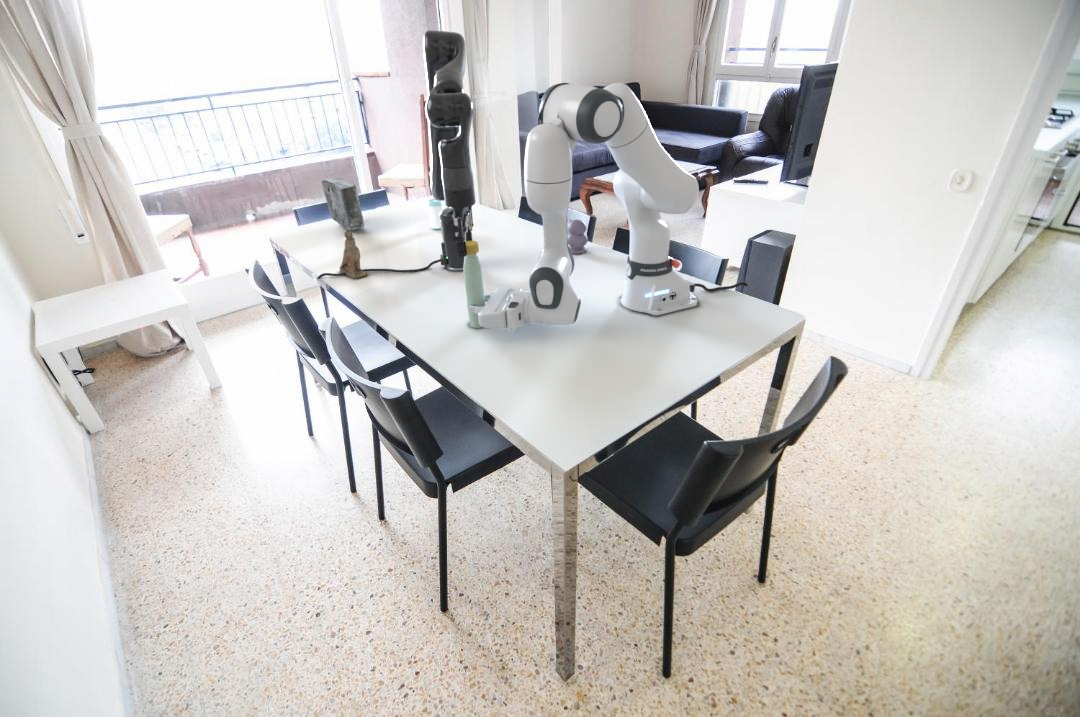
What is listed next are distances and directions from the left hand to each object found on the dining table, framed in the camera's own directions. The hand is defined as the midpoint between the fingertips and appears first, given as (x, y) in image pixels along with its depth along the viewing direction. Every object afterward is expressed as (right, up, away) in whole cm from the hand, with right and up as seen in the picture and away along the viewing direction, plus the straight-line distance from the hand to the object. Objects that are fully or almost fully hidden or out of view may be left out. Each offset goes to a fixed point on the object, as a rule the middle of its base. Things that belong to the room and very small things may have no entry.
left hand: (465, 250), depth 130 cm
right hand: (+1, -13, +8) cm, 15 cm away
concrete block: (-68, +32, +98) cm, 124 cm away
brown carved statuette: (-48, +2, +49) cm, 68 cm away
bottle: (+2, -19, +12) cm, 22 cm away
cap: (+1, +1, -1) cm, 2 cm away
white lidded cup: (-26, +30, +93) cm, 102 cm away
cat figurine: (+34, +13, +61) cm, 71 cm away
